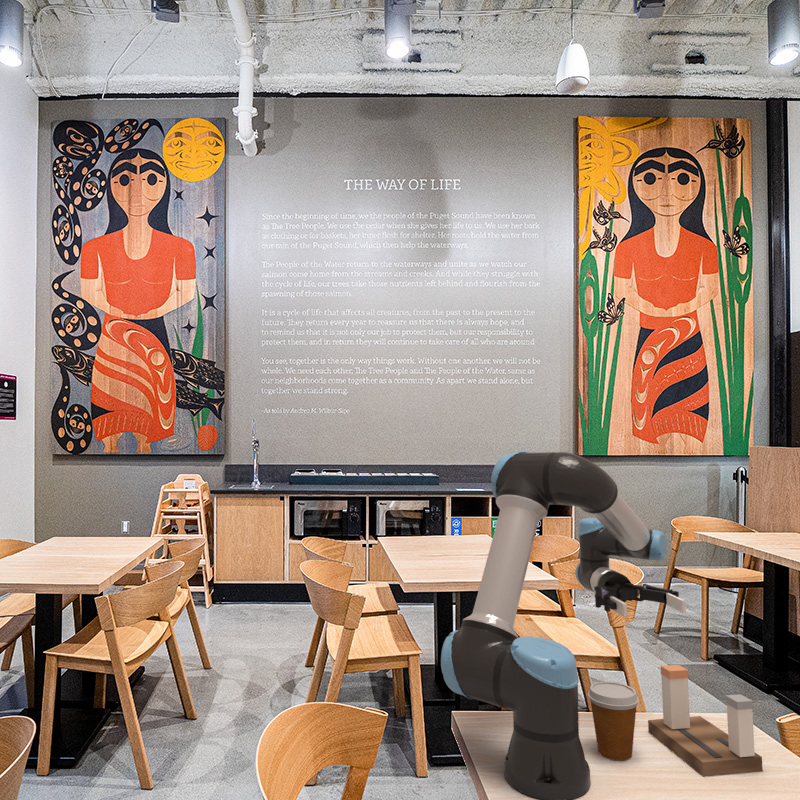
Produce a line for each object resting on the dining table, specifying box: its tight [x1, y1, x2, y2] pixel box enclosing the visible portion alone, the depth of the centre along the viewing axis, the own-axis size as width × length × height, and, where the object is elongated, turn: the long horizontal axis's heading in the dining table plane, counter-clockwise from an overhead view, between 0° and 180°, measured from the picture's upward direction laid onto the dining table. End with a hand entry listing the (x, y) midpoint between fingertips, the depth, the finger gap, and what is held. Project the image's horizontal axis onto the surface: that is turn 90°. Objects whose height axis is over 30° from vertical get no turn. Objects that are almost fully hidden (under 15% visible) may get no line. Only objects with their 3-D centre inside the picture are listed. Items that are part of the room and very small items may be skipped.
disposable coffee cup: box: [587, 681, 639, 762], centre depth 121 cm, size 10×10×12 cm
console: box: [647, 715, 764, 777], centre depth 121 cm, size 18×12×4 cm, turn 9°
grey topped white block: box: [725, 694, 756, 757], centre depth 115 cm, size 3×3×10 cm
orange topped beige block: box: [660, 664, 691, 729], centre depth 126 cm, size 3×4×11 cm
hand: (654, 608), depth 134 cm, fingers open, 13 cm apart
